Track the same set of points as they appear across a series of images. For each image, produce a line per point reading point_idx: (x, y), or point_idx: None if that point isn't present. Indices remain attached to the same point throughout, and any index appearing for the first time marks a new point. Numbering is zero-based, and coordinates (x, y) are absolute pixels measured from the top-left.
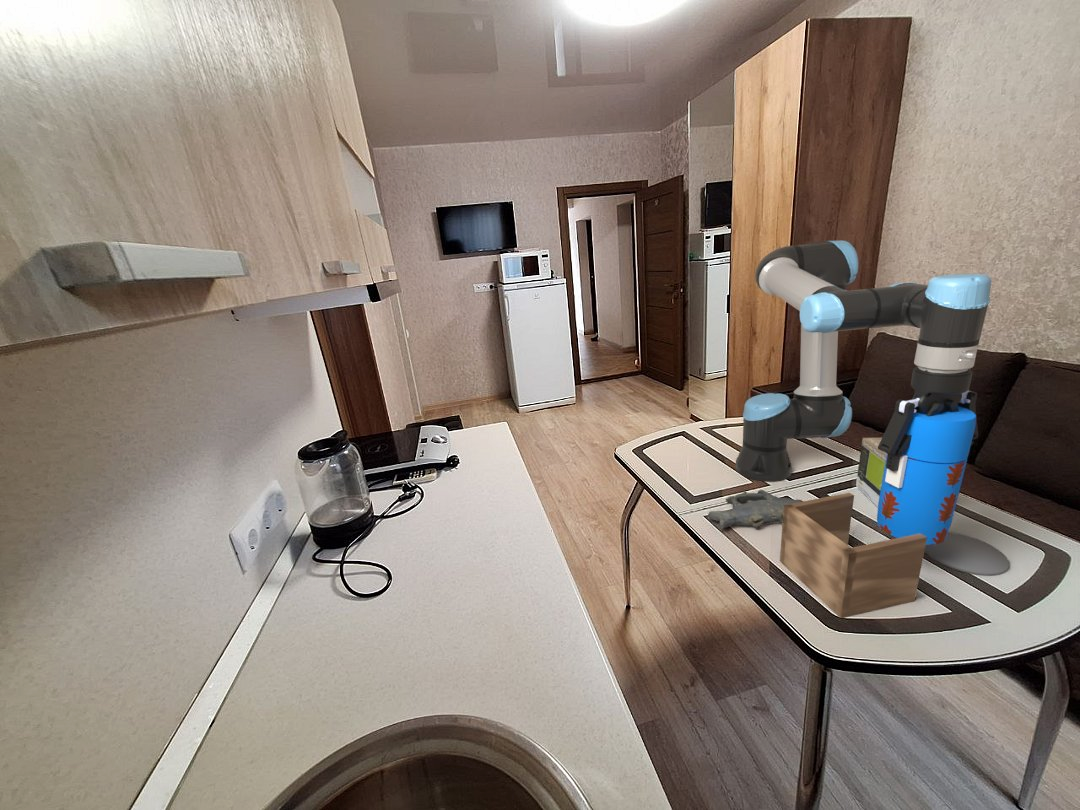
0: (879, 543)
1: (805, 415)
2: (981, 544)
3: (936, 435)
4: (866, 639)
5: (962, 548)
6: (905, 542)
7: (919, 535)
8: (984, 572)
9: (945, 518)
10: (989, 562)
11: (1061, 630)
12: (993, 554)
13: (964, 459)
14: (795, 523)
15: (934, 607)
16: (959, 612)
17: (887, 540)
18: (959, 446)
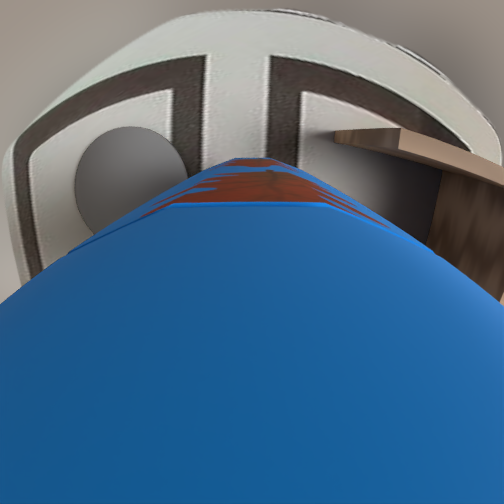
0: (496, 176)
1: None
2: (85, 192)
3: None
4: (455, 122)
5: (120, 194)
6: (455, 147)
7: (409, 143)
8: (153, 132)
9: (261, 159)
10: (119, 149)
11: (192, 17)
12: (93, 164)
13: (173, 212)
14: None
15: (318, 108)
16: (293, 85)
17: (478, 174)
18: None
